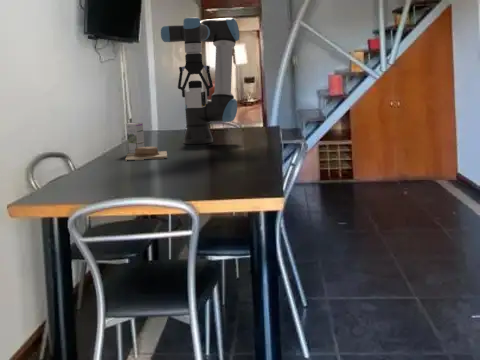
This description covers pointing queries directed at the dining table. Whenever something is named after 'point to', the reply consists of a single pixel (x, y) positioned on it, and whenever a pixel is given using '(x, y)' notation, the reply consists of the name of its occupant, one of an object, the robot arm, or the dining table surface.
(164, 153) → the base board
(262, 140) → the dining table surface
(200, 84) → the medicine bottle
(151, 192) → the dining table surface
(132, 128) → the syrup box
